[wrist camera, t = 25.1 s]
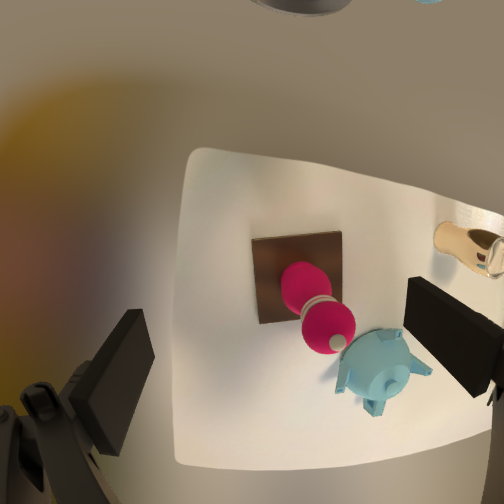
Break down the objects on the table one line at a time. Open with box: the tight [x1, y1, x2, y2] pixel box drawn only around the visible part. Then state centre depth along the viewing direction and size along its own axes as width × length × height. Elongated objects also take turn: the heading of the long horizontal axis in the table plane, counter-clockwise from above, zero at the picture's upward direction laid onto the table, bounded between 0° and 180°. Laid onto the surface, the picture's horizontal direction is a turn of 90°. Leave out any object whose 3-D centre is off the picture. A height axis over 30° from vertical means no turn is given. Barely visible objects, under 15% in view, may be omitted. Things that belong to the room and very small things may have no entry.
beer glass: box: [434, 222, 504, 279], centre depth 41 cm, size 7×7×15 cm
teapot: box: [335, 329, 433, 417], centre depth 48 cm, size 15×15×11 cm
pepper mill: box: [281, 261, 356, 354], centre depth 37 cm, size 7×7×20 cm
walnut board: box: [252, 231, 342, 324], centre depth 48 cm, size 14×14×1 cm
